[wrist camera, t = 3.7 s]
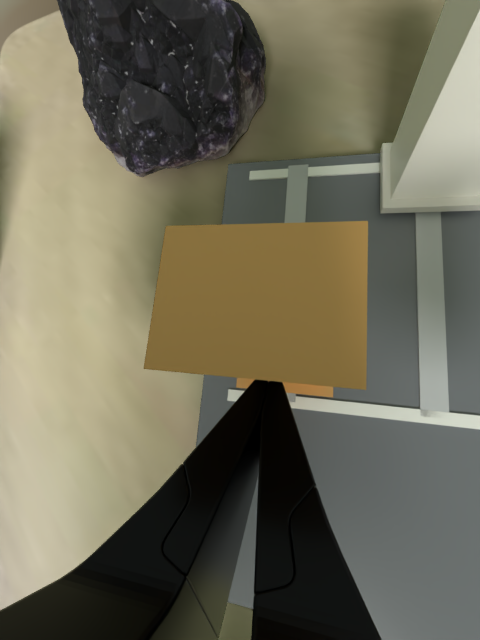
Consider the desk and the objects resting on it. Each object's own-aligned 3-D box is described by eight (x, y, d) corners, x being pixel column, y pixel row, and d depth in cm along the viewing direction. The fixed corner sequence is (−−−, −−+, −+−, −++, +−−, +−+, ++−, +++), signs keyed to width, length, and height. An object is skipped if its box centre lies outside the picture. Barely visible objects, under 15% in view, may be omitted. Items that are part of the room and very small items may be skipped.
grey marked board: (556, 673, 12) (580, 701, 11) (187, 576, 15) (178, 590, 14) (507, 156, 16) (521, 141, 15) (232, 174, 20) (228, 163, 19)
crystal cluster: (242, 204, 20) (215, 31, 11) (72, 178, 23) (-73, 16, 13) (282, 62, 24) (289, -169, 14) (130, 52, 26) (46, -153, 16)
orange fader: (332, 397, 15) (393, 425, 5) (238, 387, 16) (120, 393, 6) (334, 318, 15) (391, 195, 5) (244, 314, 16) (152, 205, 6)
